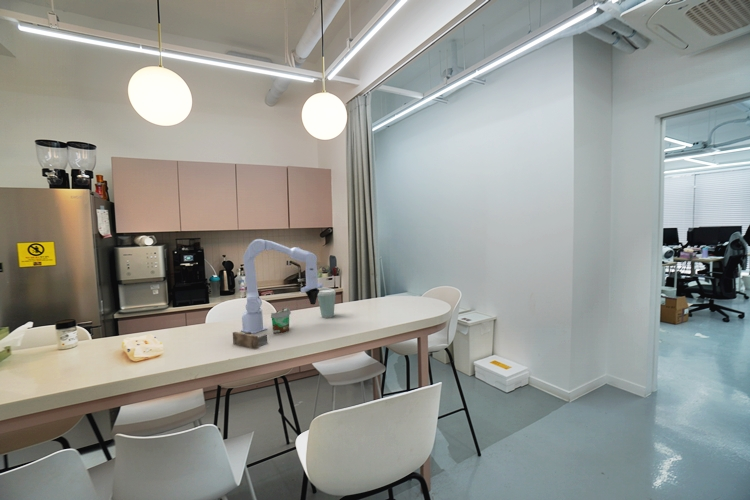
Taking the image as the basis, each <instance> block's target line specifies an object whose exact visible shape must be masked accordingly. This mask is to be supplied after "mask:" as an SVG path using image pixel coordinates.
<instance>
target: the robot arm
mask: <svg viewBox="0 0 750 500" xmlns="http://www.w3.org/2000/svg"><path fill="white" fill-rule="evenodd" d="M264 251H277V252H278V253H282V254H285V255H288V256H289V258H290V259H291V260H296V261H298V262H301V263H305V268H304V269H305V286H303V287H300V292H301V293H305V294H306V295H307V297H308V301H309V303H310V305H313V306H314V305H316V303H317V300H318V297H317V295H318V293H319V289H321V288H324V284H323V283H319V282H318V281H319V280H318V267H317V266H318V263H317V262H318V258H317V255H316V254H315V253H313V252H311V251H310V250H304V249H301V248H300V247H299V246H297V247H295V246H294V247H291V248H290V247H287V246H286V245H283V244H281V243H277V242H274V241H272V240H267V239H265V240H264V239H262V238H257V239H253V240H252V241H251V242H249V244H248V246H247V248H246V250H245V252H244V254H243V256H242V259H243V260H242V261H243V266H244V267H243V268H244V276H245V285H246V294H247V295H246V304H245V310H246V311H245V312H244V313H243V314H242V316H241V324H242V329H241V332H244V333H246V332H251V334H256V333H260V332H262V331H265V330H268V327H265V326H264V321H263V320H264V319H263V317H264V316H263V309H261V307H262V305H263V304H262V303H263V301H262V300H261V298H260V294H259V292H258V291H259V290H258V282H257V281H258V280H257V273H256V264H255V259H256V258H257V256H259V254H261V253H263V252H264Z"/></svg>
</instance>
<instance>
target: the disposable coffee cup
mask: <svg viewBox="0 0 750 500" xmlns="http://www.w3.org/2000/svg"><path fill="white" fill-rule="evenodd" d="M318 289H319V293H318V295H317V300H318V305H319V310H320V315H321V318H324V319H328V318H333V317H334V315H335V304H336V295H337V294H336V293H337V292H336V290H335V289H334V288H330V287H329V288H328V287H323V288H318Z"/></svg>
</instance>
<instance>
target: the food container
mask: <svg viewBox="0 0 750 500" xmlns="http://www.w3.org/2000/svg"><path fill="white" fill-rule="evenodd" d="M291 313H292V312H291V310H290V308H289V307H282V309H281V310H278V311H276V312H271V313H270V314H271V315H270V318H271V322H272V323H271V324H272V332H273V335H279V334H285V333H288V332H289V331H290V315H291Z"/></svg>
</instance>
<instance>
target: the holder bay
mask: <svg viewBox="0 0 750 500" xmlns="http://www.w3.org/2000/svg"><path fill="white" fill-rule="evenodd" d="M232 344H233V345H236V346H240V347H245V348H251V349H254V350H257V349H259V347H261V346H263V345H266V344H268V334H263V335H259V336H258V335H254V334H252V333H251V332H244V333H243V332H238V331H234V332H232Z"/></svg>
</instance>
